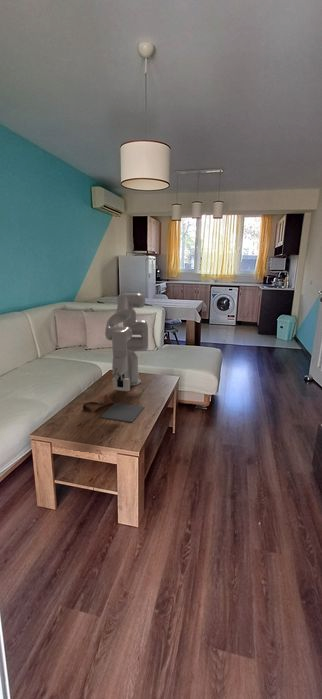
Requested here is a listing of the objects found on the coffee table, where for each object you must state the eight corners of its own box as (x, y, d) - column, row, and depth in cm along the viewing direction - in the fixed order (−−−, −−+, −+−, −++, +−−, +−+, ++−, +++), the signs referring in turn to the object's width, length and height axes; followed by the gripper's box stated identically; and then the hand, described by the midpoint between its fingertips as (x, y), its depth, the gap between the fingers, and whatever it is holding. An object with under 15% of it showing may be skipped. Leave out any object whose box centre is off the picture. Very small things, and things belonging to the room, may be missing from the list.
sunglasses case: (92, 413, 178) (88, 402, 178) (86, 416, 183) (81, 405, 183) (116, 402, 192) (112, 391, 192) (109, 405, 196) (105, 395, 197)
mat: (115, 403, 190) (115, 402, 190) (144, 407, 184) (144, 406, 184) (100, 417, 173) (100, 416, 173) (132, 422, 168) (132, 421, 168)
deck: (114, 388, 179) (114, 376, 177) (130, 389, 176) (129, 378, 175) (113, 389, 177) (112, 378, 175) (128, 391, 174) (128, 380, 172)
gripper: (119, 348, 179) (121, 380, 184) (106, 356, 165) (108, 390, 170) (132, 349, 177) (133, 381, 182) (120, 358, 163) (121, 392, 168)
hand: (121, 385), depth 176 cm, fingers closed on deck, 2 cm apart
